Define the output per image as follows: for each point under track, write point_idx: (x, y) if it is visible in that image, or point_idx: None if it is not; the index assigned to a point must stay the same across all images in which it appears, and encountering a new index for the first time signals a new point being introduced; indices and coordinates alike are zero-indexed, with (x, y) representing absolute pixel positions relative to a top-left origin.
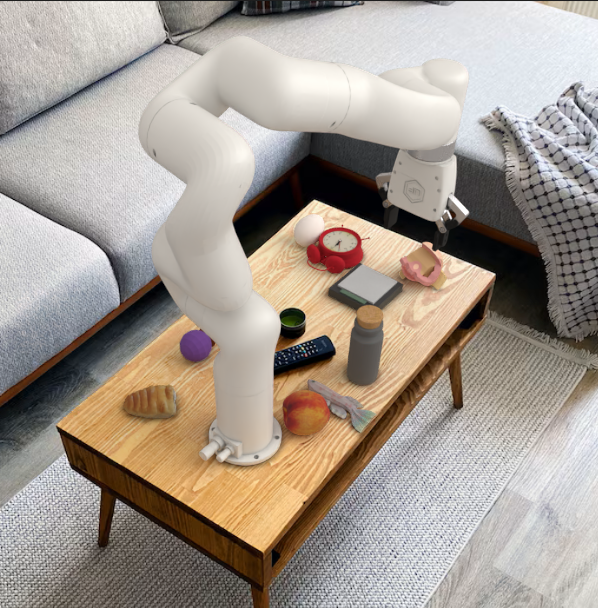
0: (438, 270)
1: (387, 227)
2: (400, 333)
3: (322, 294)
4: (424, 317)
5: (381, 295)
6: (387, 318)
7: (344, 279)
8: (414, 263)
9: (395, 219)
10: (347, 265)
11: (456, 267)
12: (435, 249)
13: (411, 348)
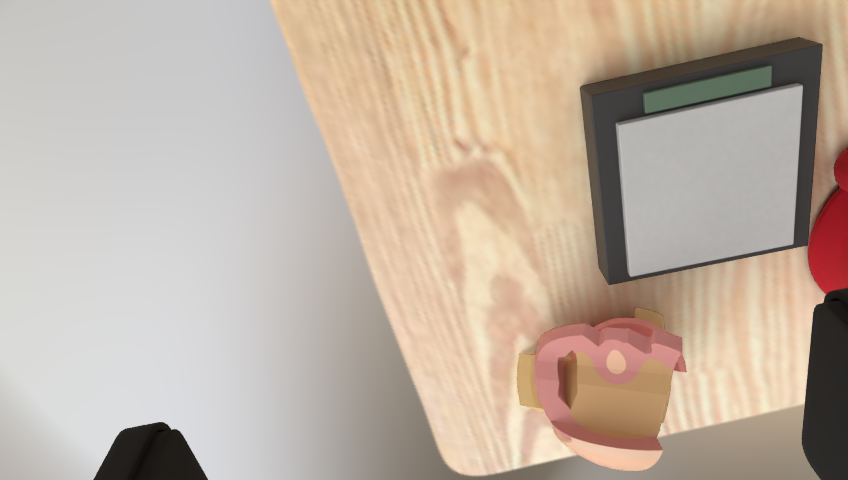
0: (547, 403)
1: (835, 312)
2: (450, 115)
3: (822, 24)
4: (455, 238)
5: (622, 179)
6: (540, 134)
7: (798, 129)
8: (629, 368)
9: (835, 469)
10: (837, 207)
11: (550, 452)
12: (113, 451)
13: (366, 91)
